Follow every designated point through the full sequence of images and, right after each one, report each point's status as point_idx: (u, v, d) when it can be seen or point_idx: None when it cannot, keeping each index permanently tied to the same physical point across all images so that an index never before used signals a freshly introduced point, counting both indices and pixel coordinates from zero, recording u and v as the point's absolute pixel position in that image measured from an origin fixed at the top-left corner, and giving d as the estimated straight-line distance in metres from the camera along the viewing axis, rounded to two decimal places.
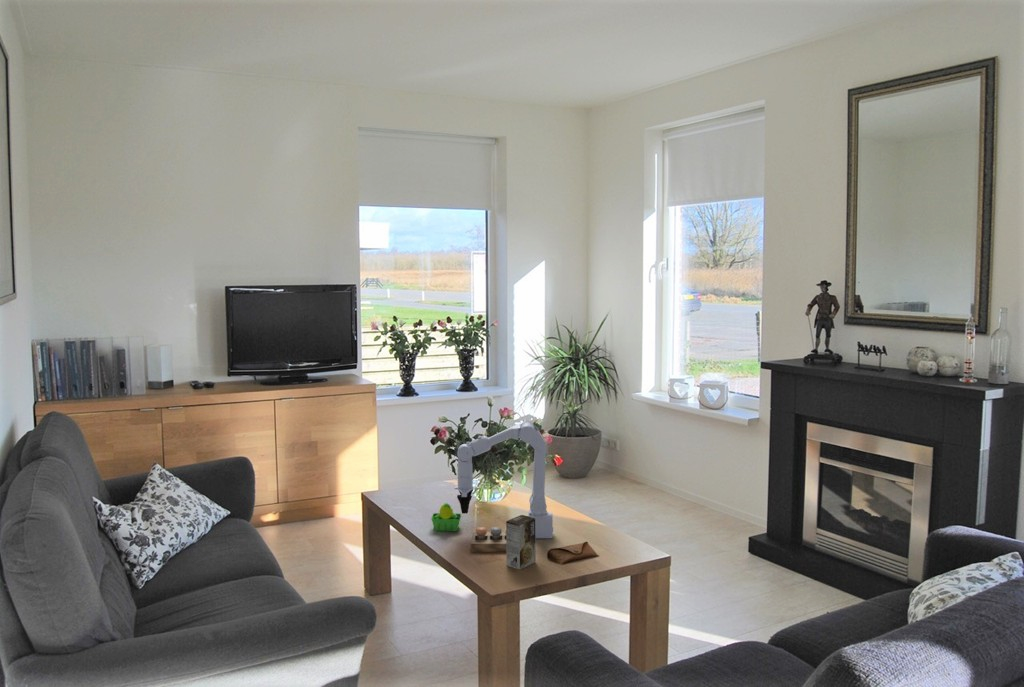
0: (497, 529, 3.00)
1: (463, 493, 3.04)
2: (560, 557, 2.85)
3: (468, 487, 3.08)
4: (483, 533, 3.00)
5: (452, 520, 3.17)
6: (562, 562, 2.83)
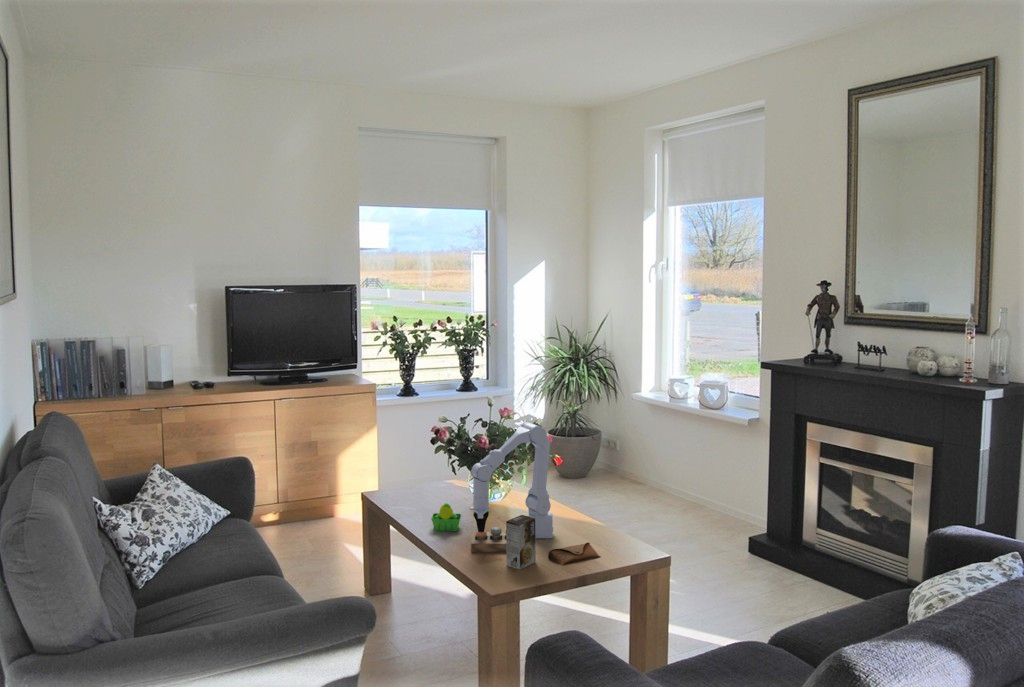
0: (497, 529, 3.00)
1: (479, 514, 2.93)
2: (561, 558, 2.84)
3: (484, 508, 2.98)
4: (483, 536, 3.00)
5: (452, 520, 3.17)
6: (563, 563, 2.82)
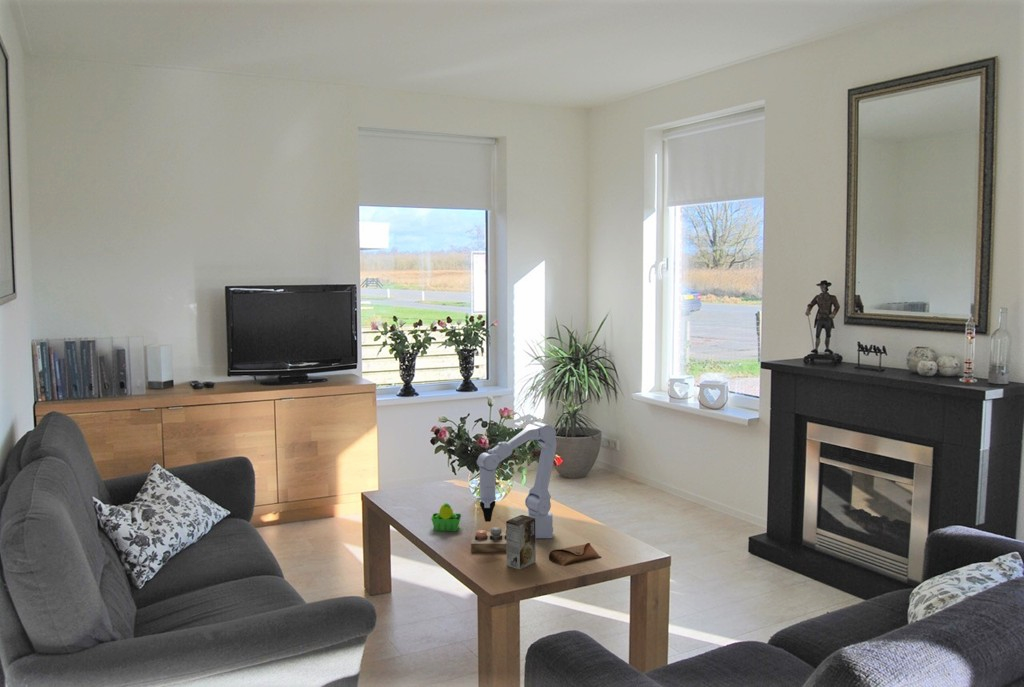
0: (497, 529, 3.00)
1: (486, 504, 2.93)
2: (562, 559, 2.84)
3: (491, 497, 2.98)
4: (483, 536, 3.00)
5: (452, 520, 3.17)
6: (564, 564, 2.82)
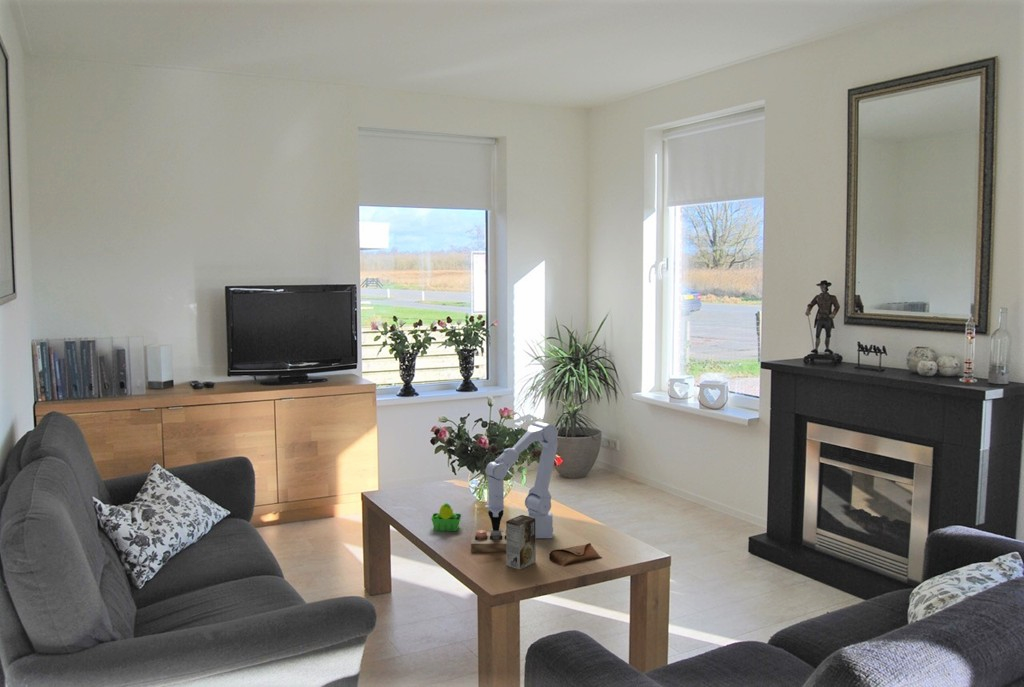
0: None
1: (494, 513, 2.93)
2: (562, 559, 2.83)
3: (499, 506, 2.98)
4: (483, 536, 3.00)
5: (452, 520, 3.17)
6: (564, 564, 2.82)
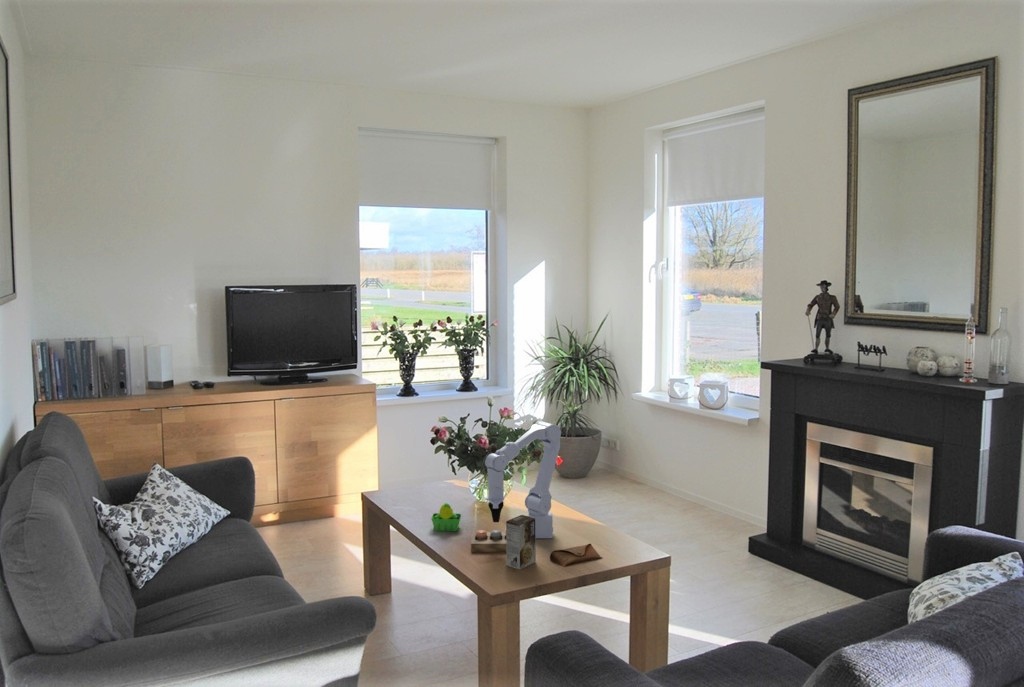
0: (497, 532, 3.01)
1: (494, 504, 2.93)
2: (563, 559, 2.83)
3: (499, 498, 2.98)
4: (483, 536, 3.00)
5: (452, 520, 3.17)
6: (565, 564, 2.81)
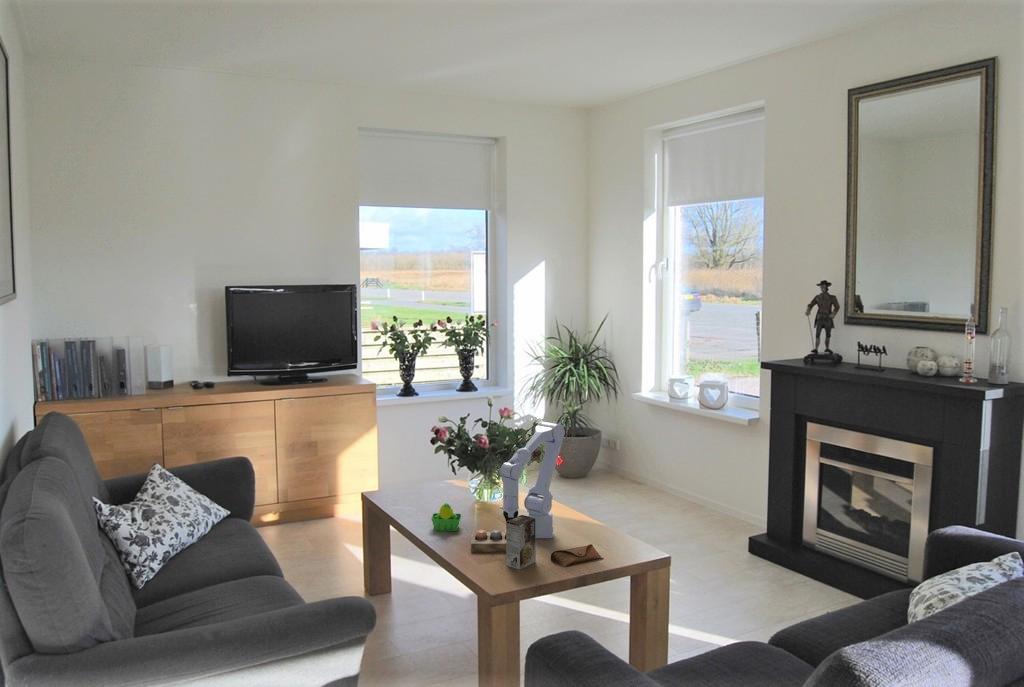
0: (497, 532, 3.01)
1: (510, 513, 2.93)
2: (564, 560, 2.82)
3: (514, 507, 2.98)
4: (483, 536, 3.00)
5: (452, 520, 3.17)
6: (565, 565, 2.81)
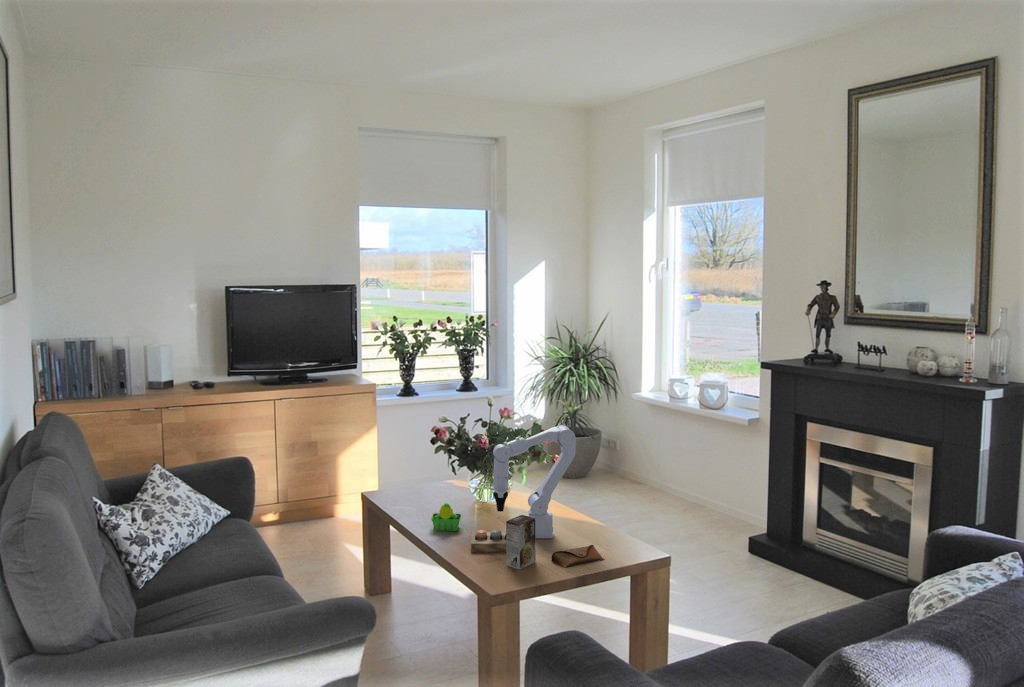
0: (497, 532, 3.01)
1: (500, 494, 3.02)
2: (564, 560, 2.82)
3: (504, 488, 3.06)
4: (483, 536, 3.00)
5: (452, 520, 3.17)
6: (566, 565, 2.80)
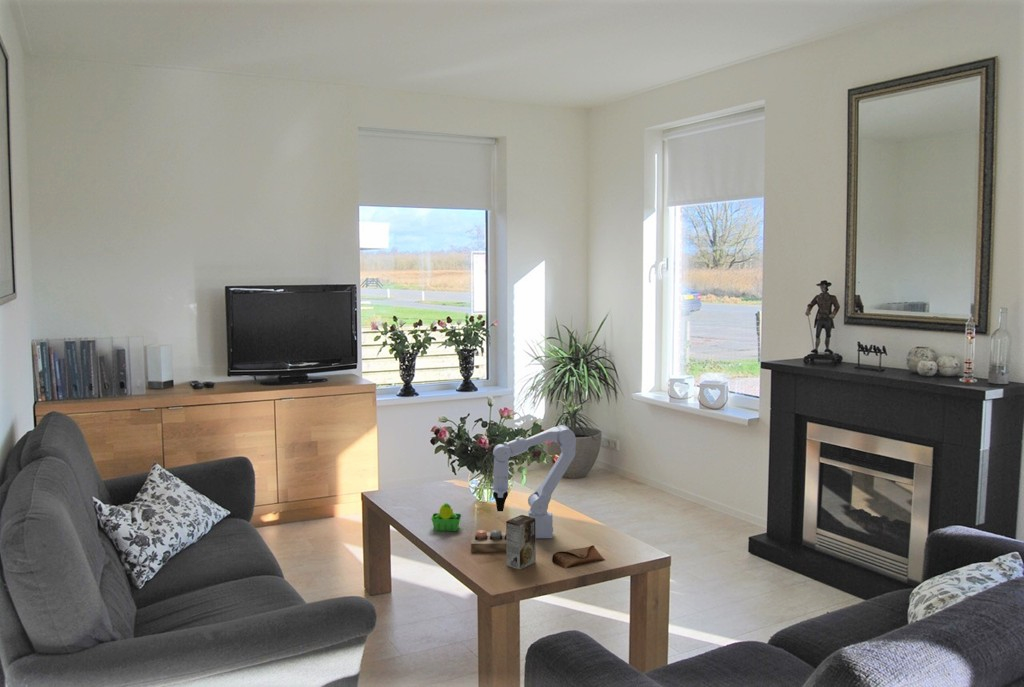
0: (497, 532, 3.01)
1: (499, 494, 3.02)
2: (565, 561, 2.81)
3: (504, 488, 3.06)
4: (483, 536, 3.00)
5: (452, 520, 3.17)
6: (567, 566, 2.80)
